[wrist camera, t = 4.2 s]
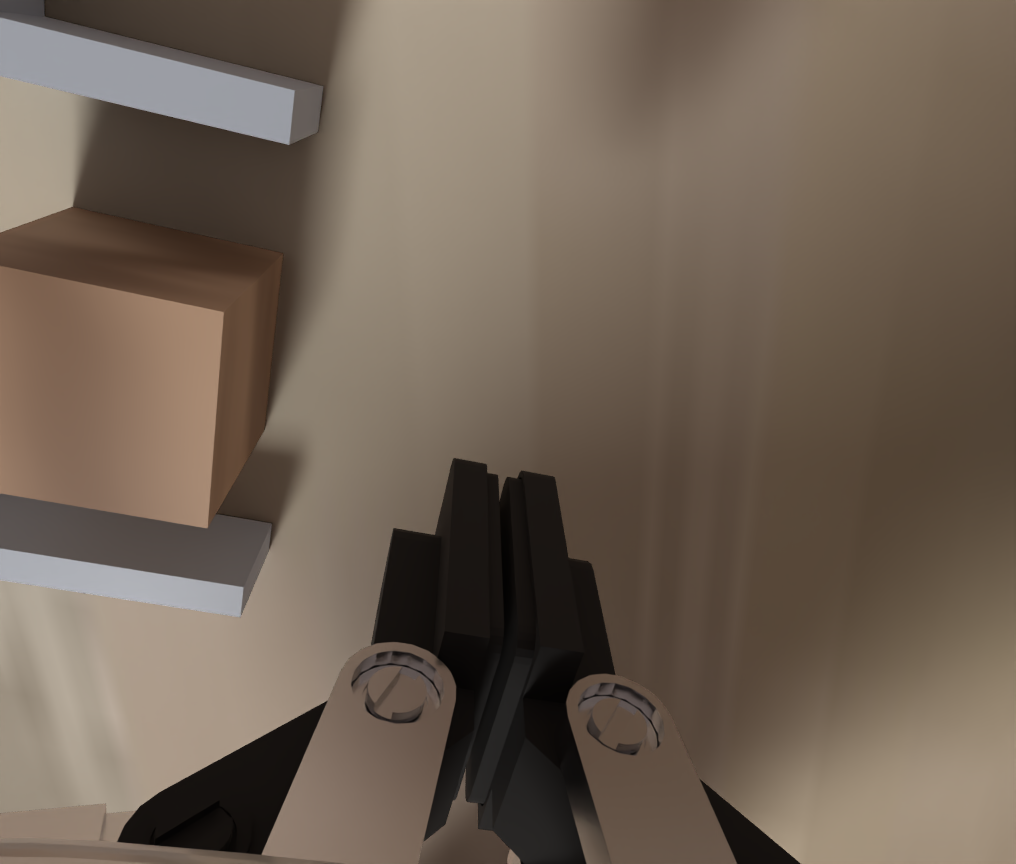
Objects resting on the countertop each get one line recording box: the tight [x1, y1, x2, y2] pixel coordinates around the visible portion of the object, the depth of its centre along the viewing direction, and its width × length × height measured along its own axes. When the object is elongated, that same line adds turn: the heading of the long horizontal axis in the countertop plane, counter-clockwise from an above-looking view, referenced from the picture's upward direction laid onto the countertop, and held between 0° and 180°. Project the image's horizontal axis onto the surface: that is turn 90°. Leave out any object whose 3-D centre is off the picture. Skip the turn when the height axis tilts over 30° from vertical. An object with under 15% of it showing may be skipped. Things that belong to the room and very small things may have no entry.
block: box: [0, 207, 283, 528], centre depth 17 cm, size 5×5×5 cm
